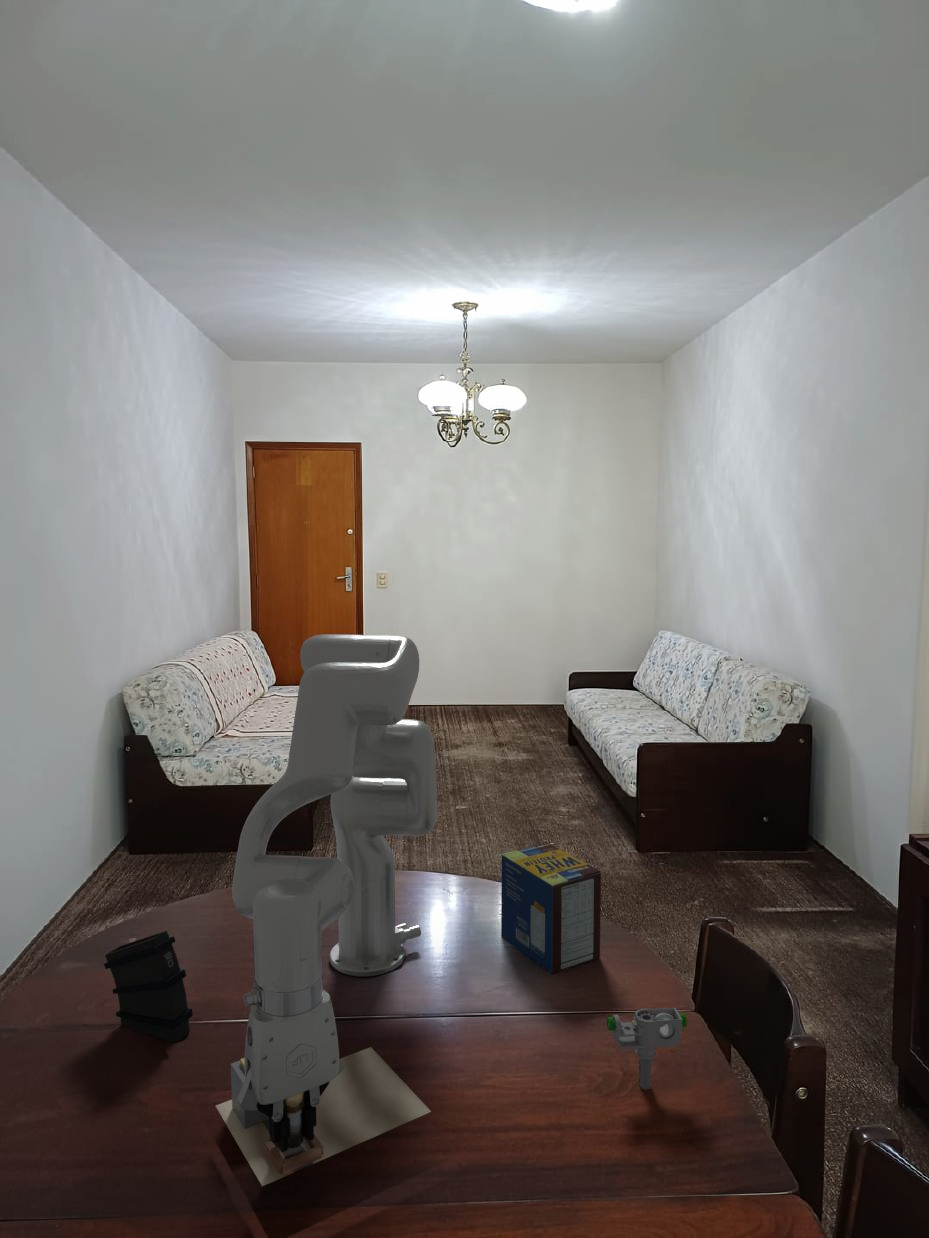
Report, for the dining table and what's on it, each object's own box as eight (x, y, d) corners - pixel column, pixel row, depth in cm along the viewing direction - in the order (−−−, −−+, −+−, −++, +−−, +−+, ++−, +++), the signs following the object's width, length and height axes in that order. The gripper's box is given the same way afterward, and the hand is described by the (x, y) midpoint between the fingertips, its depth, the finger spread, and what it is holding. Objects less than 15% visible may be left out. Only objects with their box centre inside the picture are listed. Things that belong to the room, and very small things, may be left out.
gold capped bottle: (309, 1143, 103) (308, 1087, 103) (286, 1152, 102) (285, 1096, 101) (299, 1129, 106) (298, 1074, 105) (277, 1138, 104) (275, 1082, 103)
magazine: (190, 1040, 125) (151, 939, 126) (129, 1055, 131) (92, 959, 132) (209, 1026, 128) (170, 928, 129) (149, 1041, 134) (112, 947, 135)
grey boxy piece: (285, 1087, 115) (283, 1040, 115) (298, 1107, 112) (297, 1058, 111) (232, 1107, 112) (230, 1059, 111) (244, 1128, 108) (243, 1078, 107)
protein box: (546, 922, 164) (547, 841, 162) (601, 958, 151) (602, 871, 149) (499, 936, 158) (499, 853, 156) (551, 975, 145) (552, 884, 143)
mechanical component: (604, 1080, 119) (605, 1010, 118) (679, 1076, 120) (681, 1006, 118) (609, 1095, 116) (611, 1023, 115) (686, 1090, 117) (688, 1019, 115)
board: (371, 1054, 124) (370, 1040, 124) (431, 1120, 111) (431, 1103, 111) (215, 1114, 112) (215, 1098, 112) (262, 1195, 99) (261, 1177, 99)
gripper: (231, 1029, 94) (237, 1188, 96) (367, 984, 103) (369, 1130, 105) (208, 997, 100) (214, 1147, 102) (339, 956, 109) (341, 1095, 111)
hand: (293, 1137), depth 104 cm, fingers closed on gold capped bottle, 2 cm apart
